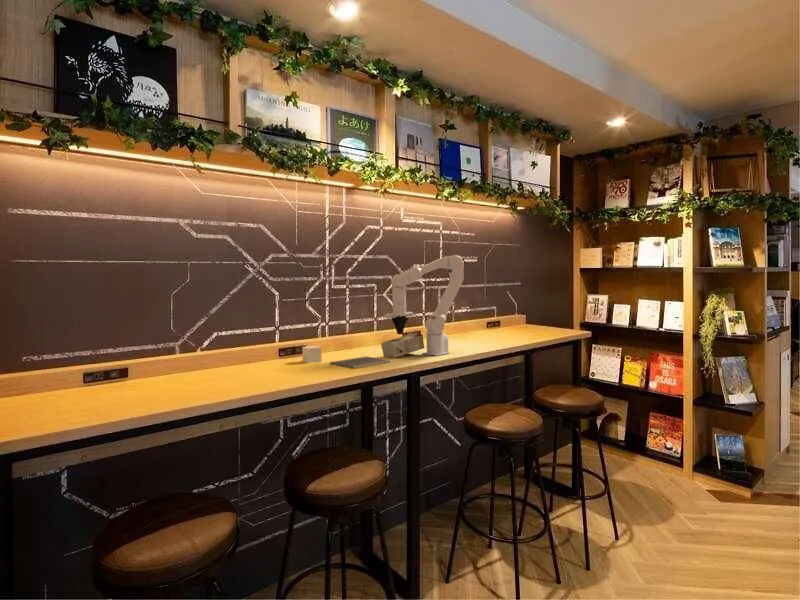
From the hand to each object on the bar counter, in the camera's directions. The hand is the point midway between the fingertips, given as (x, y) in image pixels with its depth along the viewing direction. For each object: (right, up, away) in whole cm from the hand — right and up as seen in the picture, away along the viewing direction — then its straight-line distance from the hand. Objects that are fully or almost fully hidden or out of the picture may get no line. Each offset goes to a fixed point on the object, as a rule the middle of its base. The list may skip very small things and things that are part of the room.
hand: (400, 334), depth 197 cm
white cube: (-36, -11, -9) cm, 39 cm away
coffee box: (-5, -6, -4) cm, 9 cm away
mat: (-16, -10, -14) cm, 24 cm away
